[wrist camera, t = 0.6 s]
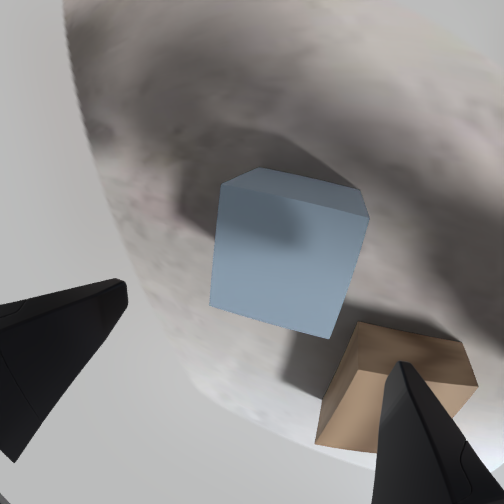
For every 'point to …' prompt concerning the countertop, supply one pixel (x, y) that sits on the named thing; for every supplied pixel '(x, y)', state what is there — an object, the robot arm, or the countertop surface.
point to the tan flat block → (374, 377)
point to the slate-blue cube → (286, 249)
